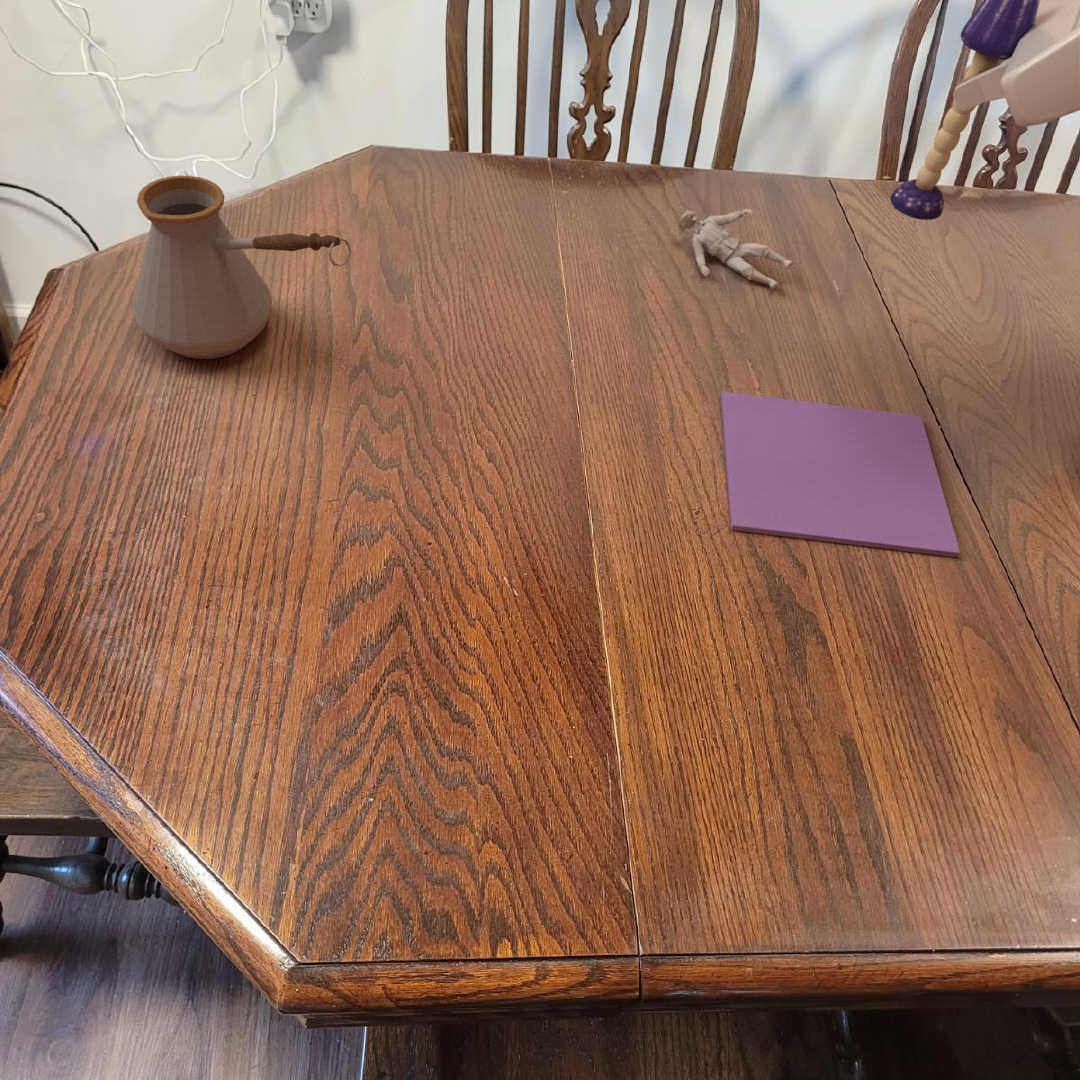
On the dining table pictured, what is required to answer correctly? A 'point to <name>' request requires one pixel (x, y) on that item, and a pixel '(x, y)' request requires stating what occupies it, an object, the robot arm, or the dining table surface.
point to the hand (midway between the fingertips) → (961, 90)
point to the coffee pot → (203, 271)
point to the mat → (833, 475)
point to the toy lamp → (992, 38)
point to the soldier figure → (728, 245)
